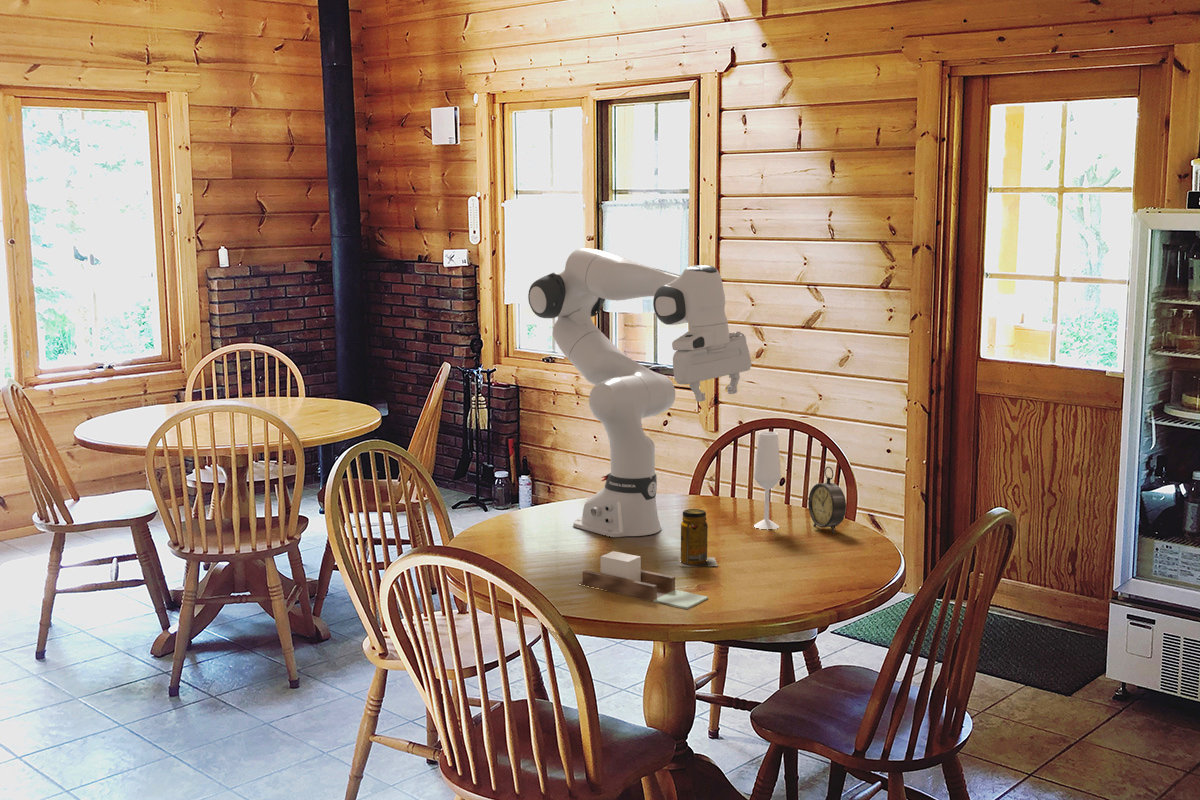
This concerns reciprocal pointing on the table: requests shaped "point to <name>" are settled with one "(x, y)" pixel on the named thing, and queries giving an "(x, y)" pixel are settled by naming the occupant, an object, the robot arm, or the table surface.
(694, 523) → the condiment
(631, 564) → the block
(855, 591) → the table surface
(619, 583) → the chute
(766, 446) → the champagne flute
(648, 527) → the robot arm
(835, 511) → the alarm clock
